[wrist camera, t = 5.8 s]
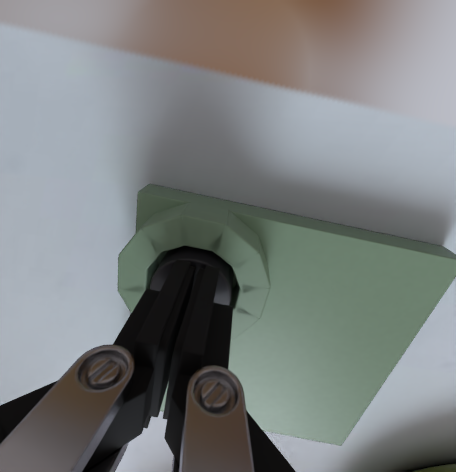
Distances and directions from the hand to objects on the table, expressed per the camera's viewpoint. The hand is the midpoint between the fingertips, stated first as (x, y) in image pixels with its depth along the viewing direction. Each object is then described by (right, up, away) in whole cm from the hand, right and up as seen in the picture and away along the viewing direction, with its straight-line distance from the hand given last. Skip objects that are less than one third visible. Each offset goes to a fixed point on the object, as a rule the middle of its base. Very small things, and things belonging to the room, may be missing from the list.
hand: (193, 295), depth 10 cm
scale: (+3, -3, +5) cm, 7 cm away
